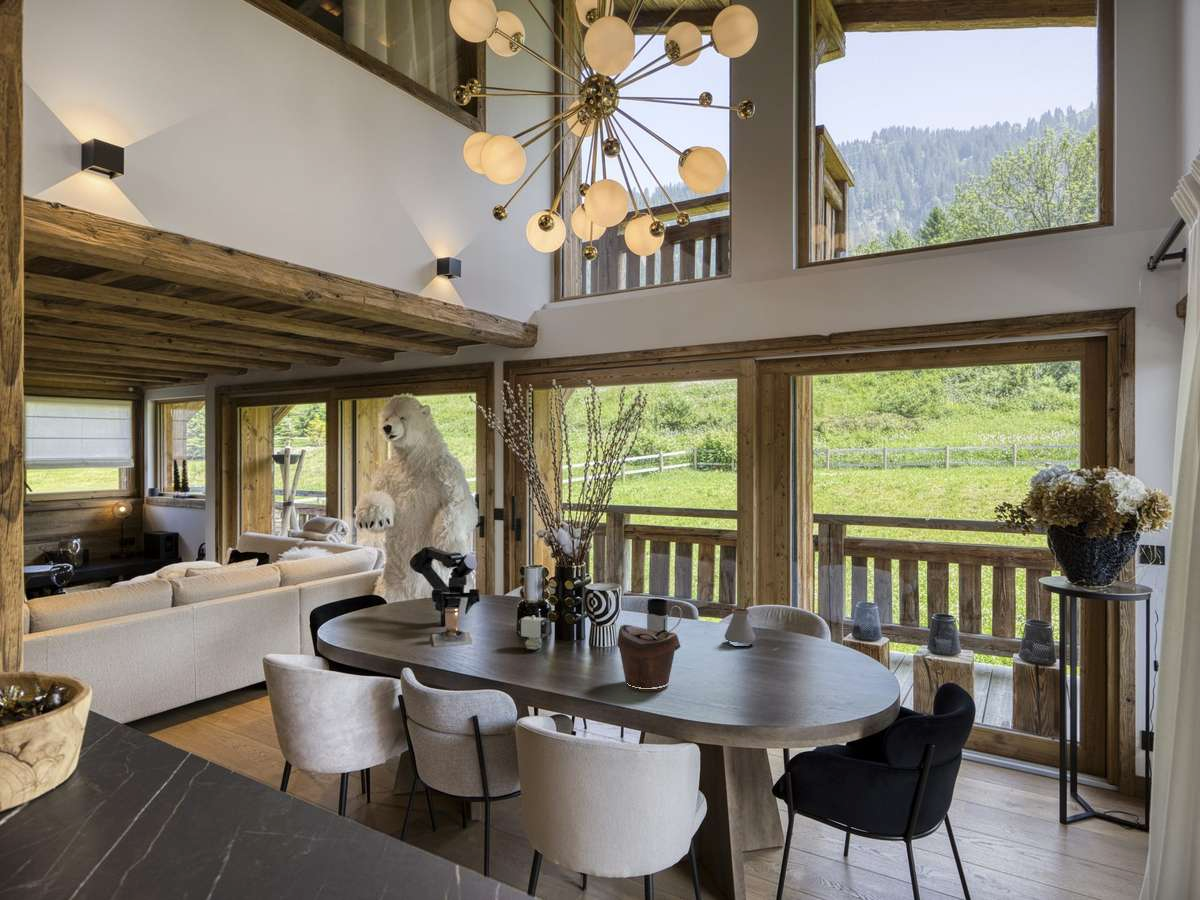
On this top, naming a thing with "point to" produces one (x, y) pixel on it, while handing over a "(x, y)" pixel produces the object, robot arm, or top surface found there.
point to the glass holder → (658, 615)
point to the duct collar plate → (451, 639)
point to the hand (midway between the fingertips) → (453, 614)
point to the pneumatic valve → (533, 630)
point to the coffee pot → (740, 626)
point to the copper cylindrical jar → (452, 621)
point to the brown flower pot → (646, 656)
